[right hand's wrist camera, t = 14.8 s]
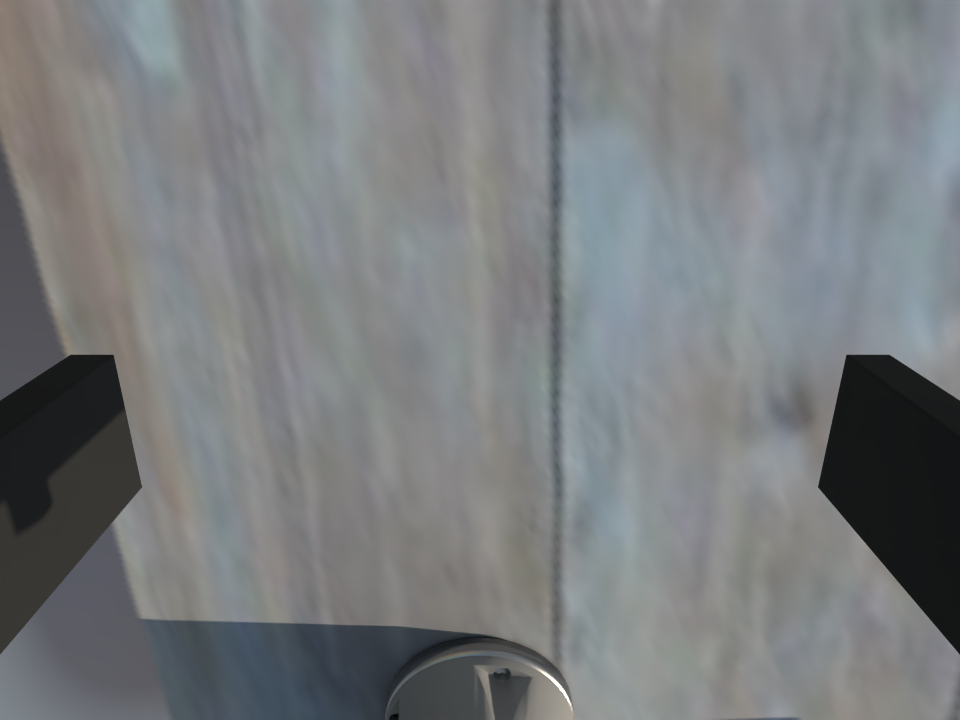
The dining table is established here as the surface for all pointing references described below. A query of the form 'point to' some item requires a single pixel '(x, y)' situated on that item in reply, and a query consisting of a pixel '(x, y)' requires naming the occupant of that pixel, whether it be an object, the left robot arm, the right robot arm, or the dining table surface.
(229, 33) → the dining table surface
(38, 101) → the dining table surface
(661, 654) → the dining table surface
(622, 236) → the dining table surface
